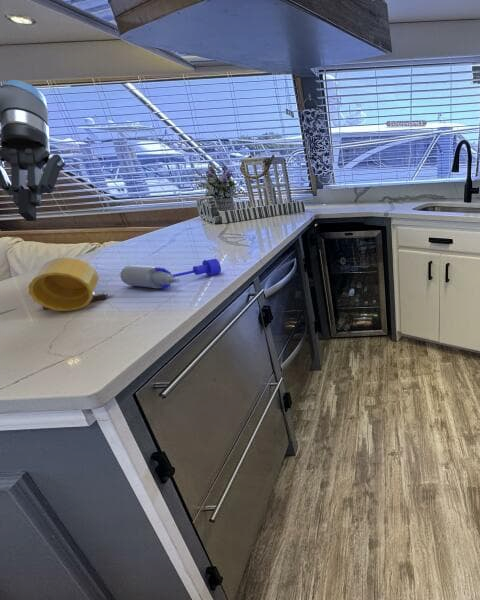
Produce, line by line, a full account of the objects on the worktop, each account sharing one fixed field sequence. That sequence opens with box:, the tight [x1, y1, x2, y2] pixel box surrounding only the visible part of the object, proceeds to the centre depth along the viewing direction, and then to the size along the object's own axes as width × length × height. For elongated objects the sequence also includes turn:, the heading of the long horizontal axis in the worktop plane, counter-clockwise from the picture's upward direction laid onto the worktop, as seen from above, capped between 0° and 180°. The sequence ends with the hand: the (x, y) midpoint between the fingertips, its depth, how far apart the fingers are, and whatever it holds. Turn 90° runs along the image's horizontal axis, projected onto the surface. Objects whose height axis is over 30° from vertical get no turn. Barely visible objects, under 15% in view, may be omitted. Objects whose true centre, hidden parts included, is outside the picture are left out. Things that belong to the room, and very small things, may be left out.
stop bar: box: [41, 292, 109, 310], centre depth 80 cm, size 12×2×1 cm, turn 119°
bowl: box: [28, 257, 100, 312], centre depth 76 cm, size 10×10×8 cm
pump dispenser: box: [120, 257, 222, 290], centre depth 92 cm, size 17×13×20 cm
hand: (27, 216), depth 69 cm, fingers closed
